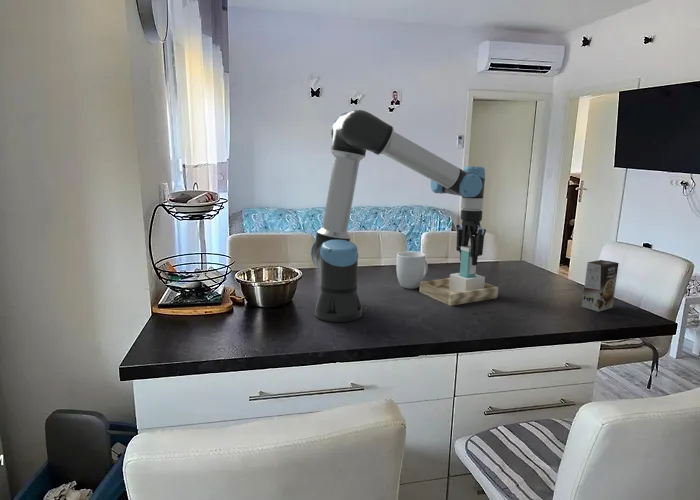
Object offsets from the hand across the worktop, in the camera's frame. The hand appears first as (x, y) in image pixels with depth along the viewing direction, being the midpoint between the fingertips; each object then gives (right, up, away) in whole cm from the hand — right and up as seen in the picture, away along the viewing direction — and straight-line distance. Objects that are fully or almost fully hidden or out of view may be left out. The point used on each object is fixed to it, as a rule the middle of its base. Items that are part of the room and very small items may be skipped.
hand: (467, 271), depth 176 cm
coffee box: (+42, -12, -12) cm, 45 cm away
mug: (-20, -6, +11) cm, 23 cm away
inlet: (0, -7, +2) cm, 7 cm away
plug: (0, -3, +1) cm, 3 cm away
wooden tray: (-4, -9, 0) cm, 9 cm away
